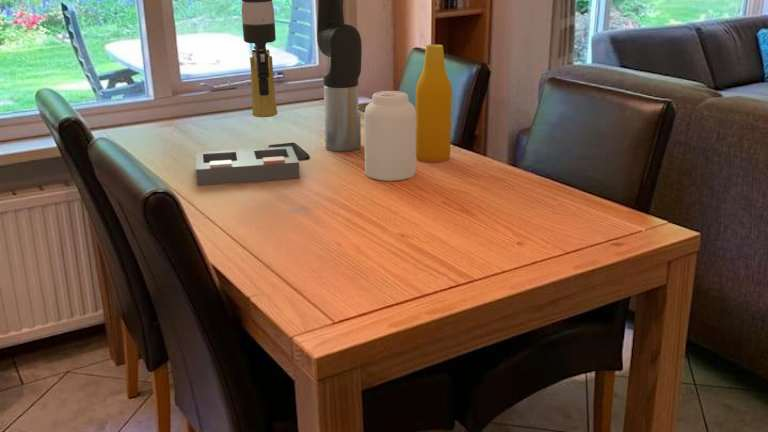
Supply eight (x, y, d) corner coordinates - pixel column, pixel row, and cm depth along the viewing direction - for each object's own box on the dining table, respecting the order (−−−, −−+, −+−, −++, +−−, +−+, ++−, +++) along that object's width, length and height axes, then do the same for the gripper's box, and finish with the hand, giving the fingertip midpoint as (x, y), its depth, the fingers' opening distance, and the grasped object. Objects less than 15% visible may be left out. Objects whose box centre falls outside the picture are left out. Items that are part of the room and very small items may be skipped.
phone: (281, 159, 197) (267, 145, 210) (281, 163, 198) (267, 149, 211) (311, 156, 200) (295, 142, 213) (311, 160, 201) (295, 146, 214)
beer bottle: (410, 161, 198) (411, 47, 188) (420, 152, 206) (421, 42, 196) (445, 164, 195) (447, 49, 185) (453, 154, 203) (457, 43, 193)
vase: (264, 118, 184) (260, 58, 179) (247, 115, 187) (242, 56, 182) (282, 114, 188) (278, 55, 183) (265, 110, 192) (261, 53, 187)
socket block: (292, 161, 198) (291, 143, 197) (299, 178, 185) (298, 159, 183) (197, 167, 193) (195, 150, 192) (197, 185, 179) (195, 167, 178)
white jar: (355, 177, 185) (354, 95, 178) (379, 164, 195) (379, 86, 188) (401, 184, 179) (402, 100, 172) (424, 170, 190) (425, 90, 183)
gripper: (277, 24, 174) (281, 97, 180) (272, 17, 187) (276, 86, 193) (243, 25, 172) (249, 99, 178) (241, 18, 185) (246, 87, 192)
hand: (263, 92), depth 186 cm, fingers closed on vase, 5 cm apart
